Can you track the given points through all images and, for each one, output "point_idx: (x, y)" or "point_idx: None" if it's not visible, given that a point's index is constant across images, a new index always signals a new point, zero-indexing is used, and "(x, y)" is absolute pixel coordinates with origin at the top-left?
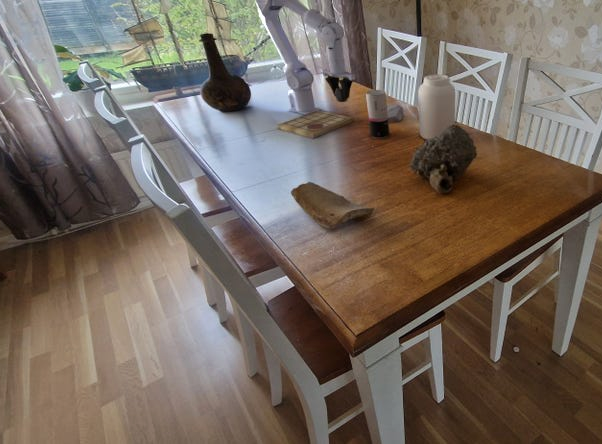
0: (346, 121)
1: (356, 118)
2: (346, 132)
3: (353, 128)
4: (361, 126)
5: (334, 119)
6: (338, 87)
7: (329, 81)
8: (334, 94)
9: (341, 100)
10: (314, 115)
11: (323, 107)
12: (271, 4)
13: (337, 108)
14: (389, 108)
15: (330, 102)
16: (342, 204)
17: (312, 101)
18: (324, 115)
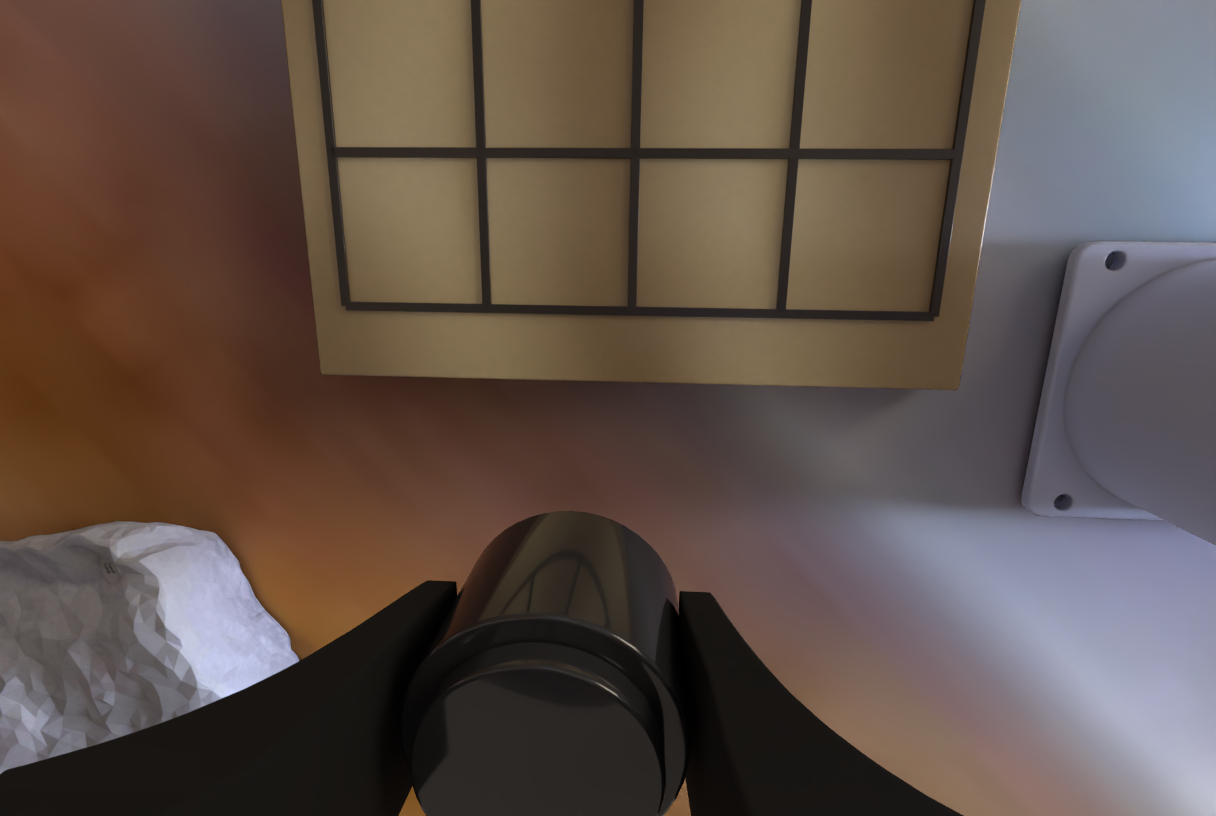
0: (317, 258)
1: (396, 475)
2: (114, 16)
3: (161, 183)
4: (144, 290)
5: (461, 194)
6: (584, 762)
7: (783, 801)
8: (696, 605)
9: (506, 529)
10: (842, 173)
11: (1043, 595)
12: None
13: (849, 642)
14: (13, 732)
15: (1083, 771)
16: None
17: (1170, 461)
18: (708, 253)
